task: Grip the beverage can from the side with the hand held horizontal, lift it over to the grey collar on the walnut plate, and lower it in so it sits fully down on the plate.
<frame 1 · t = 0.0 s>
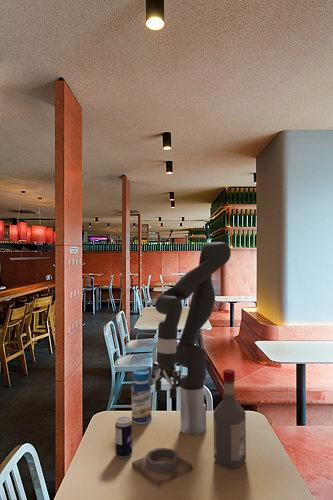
hand: (165, 394, 144), 17 cm above the table, tool pointing down, fingers open, 8 cm apart
beverage bottle: (141, 420, 162), on the table
base plate: (162, 468, 127), on the table
collar: (162, 459, 127), on the base plate, point 2 cm above the table
beverage can: (124, 455, 135), on the table
liquor: (230, 461, 131), on the table
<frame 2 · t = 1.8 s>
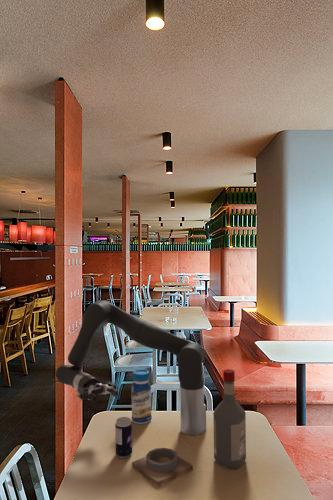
hand: (106, 396, 144), 17 cm above the table, tool horizontal, fingers open, 8 cm apart
nothing on the table moved.
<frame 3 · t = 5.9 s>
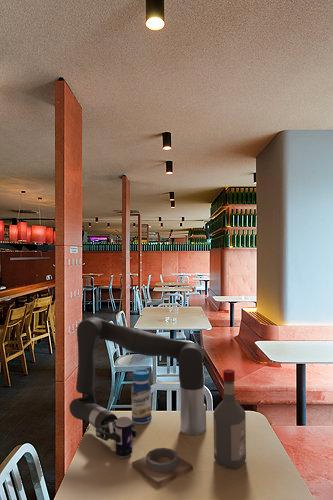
hand: (127, 437, 133), 7 cm above the table, tool horizontal, fingers closed on beverage can, 5 cm apart
beverage can: (124, 455, 135), on the table, touching gripper
everything else where it was.
when the fingers open (10 cm above the table, at t = 11.3 s): beverage can drops 1 cm, resting on base plate.
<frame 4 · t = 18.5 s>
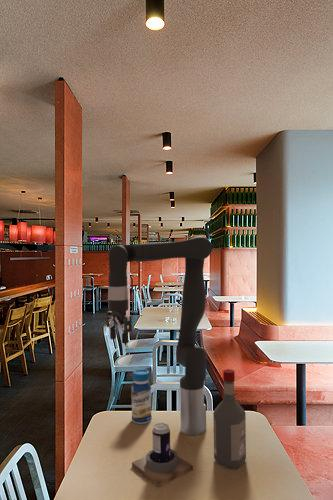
hand: (118, 341, 148), 36 cm above the table, tool pointing down, fingers open, 8 cm apart
beverage can: (161, 464, 127), point 1 cm above the table, touching base plate
everything else where it was.
at the end: beverage can 0.1 cm from the collar (horizontally); beverage can point 1.3 cm above the table; beverage can tilted 0° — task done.
